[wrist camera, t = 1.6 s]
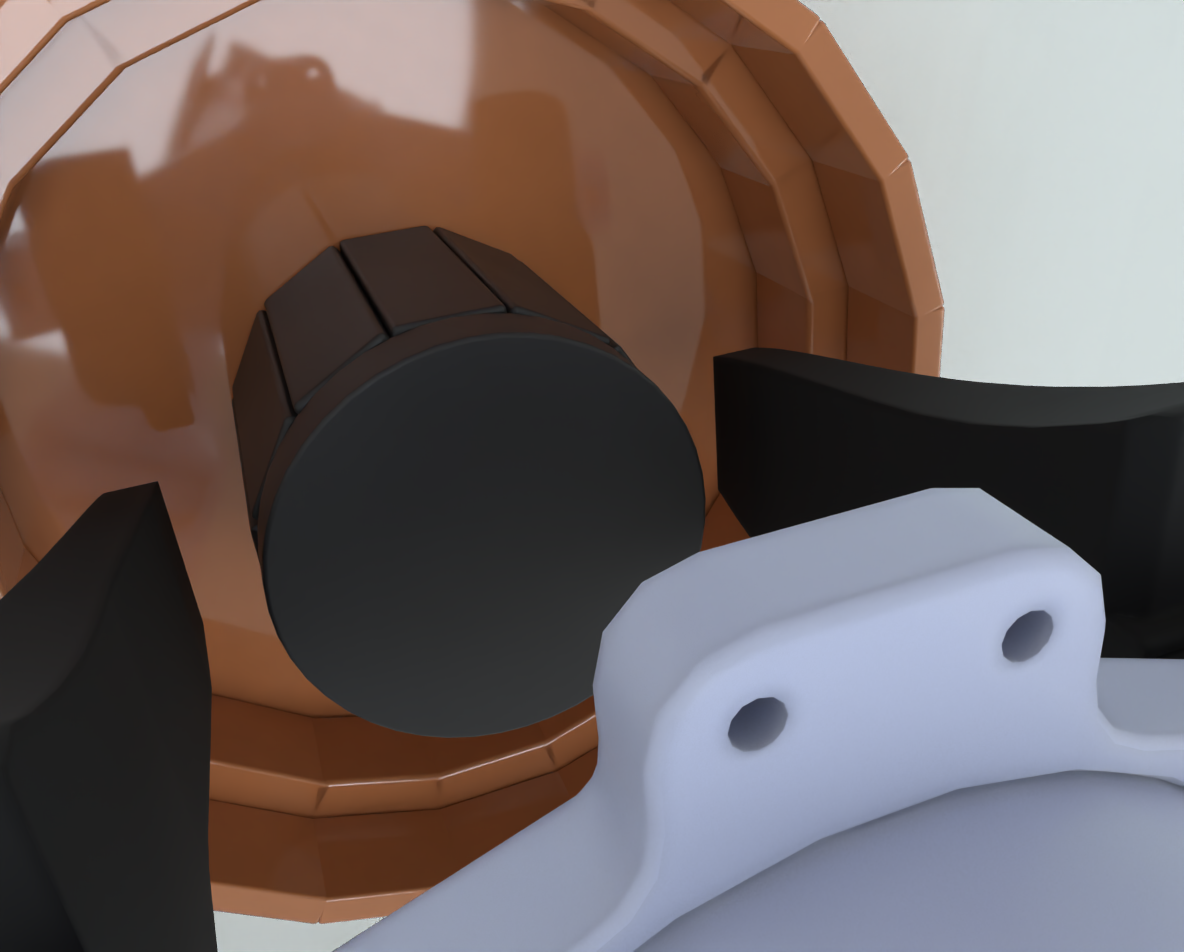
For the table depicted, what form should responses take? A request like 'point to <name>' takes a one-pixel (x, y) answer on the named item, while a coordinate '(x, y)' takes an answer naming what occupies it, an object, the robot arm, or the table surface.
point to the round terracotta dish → (383, 204)
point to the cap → (452, 482)
